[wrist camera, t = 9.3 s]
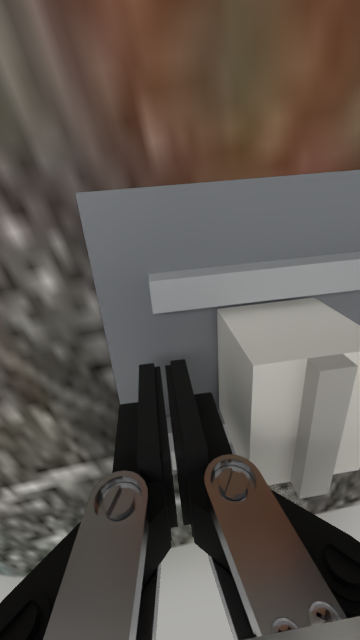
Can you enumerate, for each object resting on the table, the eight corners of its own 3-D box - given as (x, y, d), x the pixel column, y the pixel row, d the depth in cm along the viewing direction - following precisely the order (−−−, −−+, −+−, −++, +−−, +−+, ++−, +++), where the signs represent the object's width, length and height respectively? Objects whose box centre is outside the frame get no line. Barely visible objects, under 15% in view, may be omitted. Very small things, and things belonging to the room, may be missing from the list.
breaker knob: (217, 308, 11) (262, 379, 7) (314, 297, 11) (413, 358, 7) (219, 407, 13) (254, 506, 9) (301, 395, 13) (371, 486, 9)
